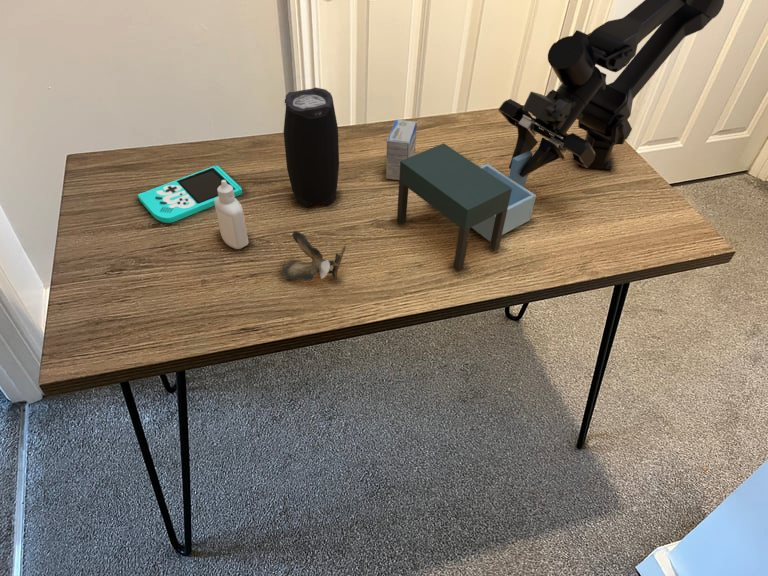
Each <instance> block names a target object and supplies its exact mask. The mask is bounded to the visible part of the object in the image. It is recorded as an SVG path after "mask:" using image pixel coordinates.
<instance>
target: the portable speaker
mask: <svg viewBox="0 0 768 576" xmlns="http://www.w3.org/2000/svg"><path fill="white" fill-rule="evenodd" d="M284 104H285V111H284V123H283V142H284V152H285V162H286V163H285V164H286V169H287V174H288V178H289V182H290V185H291V191H292V193H293V196H294V199H295V201H296V203H297V205H300V206H302V207H304V208H309V207H310V206H313V205H320V204H321V205H322V204H325V205H327V206H329V205H332V204H333V203H334V202H335V200H336V199H337V189H338V182H339V171H340V149H339V148H340V147H339V145H340V143H339V142H340V141H339V126H338V120H337V116H336V111H335V110H336V109H335V104H334V97H333V95H332V93H331V92H330V91H328V90H327V89H326V88H322V87H321V88H320V87H313V88H307V89H301V90H296V91H289V92H288V93H286V95H285V98H284Z"/></svg>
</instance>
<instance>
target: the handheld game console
mask: <svg viewBox="0 0 768 576" xmlns="http://www.w3.org/2000/svg"><path fill="white" fill-rule="evenodd" d="M222 180H226V182H227V184H229V185H231V186H232V187H233V190H234V196H235V198H236V197H239V196H241V195H243V194H244V193H243V188H242V187H241V186H240V185H239V184H238V183H237V182H236V181H235V180H234V179H233V178H232V177H231V176H230V175H229V174H228V173H226V172H225V170H223V169H222V168H221V167H220V166H219V165H213V166H211V167H208V168H205V169H203V170H199V171H197V172H194V173H191V174H189V175H186V176H184V177H181V178H178V179H176V180H173V181H170V182H168V183H165V184H162V185H159V186H157V187H154V188H151V189H149V190H146V191H143V192H141V193H138V194H137V197H138V200H139V202H140V203H141V204H142V205H143V206H144V207H145V209H146V210H147V211H148V213H150V215H151V216H152V217H153V218H154V219H155V220H157V221H159V222H161V223H163V224H172V223H175V222H177V221H179V220H182V219H184V218H187V217H191V216H193V215H194V214H197V213H200V212H202V211H205V210H207V209H210V208H212V207H215V203H214V201H215V199H216V198H217V197H219V196H218V191H217V189H218V187H219V186H220V185H221V181H222Z"/></svg>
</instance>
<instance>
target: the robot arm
mask: <svg viewBox="0 0 768 576" xmlns="http://www.w3.org/2000/svg"><path fill="white" fill-rule="evenodd" d="M724 4H725V0H643V1H642V2H641V3H640V4H638V5H637V6H636V7H634V9H632V10H631V11H630V12H629V13H628V14H626V15H625V16H623V17H621V18H618V19H612V20H608V21H606V22H604V23H603V24H601V25H599V26H597V27H596V28H595V29H593V30H592V31H591V32H589V33H588V34H587V33H585V32H583V31H580V30H578V29H577V30H575V32H574V33H573V34H572V35H567V36H564V37H562V38H560V39H558V40H557V41H555V42H553V43H552V45H551V46H550V48H549V50H548V53H547V61H548V63H549V65H550V67H551V69H552V70H553V72H554V74H555V75H556V77H557V79H558V80H559V82H560V83H561V84H560V85H559V86H558V88H557V89H556V90H555V89H551V90H550V91H549V92H548V93H547V95H544V94H541V93H538V92H535V91H530V92H529V94H528V96H527V98H526V101H525V103H524V105H523V104H521V103H518V102H517V101H515V100H514V99H512V98H509V99H506V100H505V101H503V102H502V104H501V105H500V106H499V108H498V109H497V110H498V111H499V113H500V114H501V116H503V117H504V119H505V120H506V121H507V122H508V123H509V124H510V125H512V126H514V127H515V128H516V129H517V139H516V144H515V148H514V151H513V154H512V158H511V160H510V163H509V166H508V169H509V170H510V169H511V164H512V160H513V158H514V157H516V156H519V155H521V154H523V153H525V152H527V151H530V152H532V150H533V149H535V147H536V146H537V144H538V143H539V145H538V147H537V149H536V150H535V151H534V153H533V155H532V157H531V158H530V159H529V161H528V162H527V163H526V165H525V166H524V167H523V169H522V170H521V172H520V174H519V175H520V176H521V177H524V176H526V175H527V174H528V175H529V174H531V173H532V172H534V171H536V170H538V169H540V168H542V167H544V166H545V165H547V164H550V163H552V162H554V161H556V160H558V159H559V160H562V161H564V160H565V158H566V157H565V155H566V154H567V152H570V153H571V154H572V158H573V161H574V162H575V163H577V166H578V167H579V168H586V169H594V170H595V169H596V170H603V171H604V170H605V171H611V170H612V169H613V165H612V160H611V156H612V152H613V149H614V146H615V145H624V144H625V141H626V140H627V139H628V138H629V136H630V135H631V132H632V130H633V128H632V126H631V123H630V121H629V118H630V117H631V115H632V108H633V102H634V99H635V98H636V97H637V95H638V94H639V93H640V91H642V89H643V88H644V87H645V86H646V84H647V83H648V82H649V81H650V80H651V78H652V77H653V76H654V75H655V73H656V72H657V71H658V70H659V69H660V68H661V66H662V65H663V64H664V63H665V61H666V60H667V59H668V58H669V56H670V55H671V54H673V52H674V51H675V49H676V48H677V47H678V46H679V44H680V43H681V42H682V41H683V40H684V39H685V38H686V37H688V36H691V35H693V34H696V33H698V32H700V31H702V30H703V29H704V28H705V27H706V26H707V25H708V24H709V23H710V22H711V21H712V20H713V19H715V18H716V17H717V16H718V15H719V14H720V13H721V11H722V9H723V7H724ZM653 31H654V33H652V32H653ZM651 33H652V34H651ZM649 34H651V36H650V37H649V38H648V40H647V41H646V42H645V43H644V45H642V46H641V48H640V49H639V50H638V51H637V49H638V45H639V44H640V43H641V42H642V41H644V39H645V38H646V37H648V36H649ZM596 65H597V66H599V67H601V68H603V69H605V70H607V71H609V72H612V73H618V72H620V71H621V70H622V69H623V70H622V71H621V72H620V73H619V75H617V77H616V78H615V80H614V81H613V82H611V83H608V84H607V81H606V80H607V74H606V73H604V72H602V71H601V70H600V68H599V67H597V66H596ZM576 121H577V123H578V124H577V127H578V129H581V130H583V131H585V132H586V135H585V138H582V137H581V136H579V135H577V134H575V133H574V132H572V133H569V134H568V133H567V132H568V131H569V130H570V128H571V127H572V125H574V123H575V122H576ZM537 134H538V135H540V136H542V137H541V140H540V142H539V141H538V140H537V139H536V138H535V137H536V136H537Z"/></svg>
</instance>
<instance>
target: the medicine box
mask: <svg viewBox="0 0 768 576" xmlns="http://www.w3.org/2000/svg"><path fill="white" fill-rule="evenodd" d="M393 122H394V123H393V125H392V127H391V130H390V133H389V135H388V138H387V139H386V153H385V154H386V155H385V157H386V159H385V160H386V161H385V179H386V180H393V181H399V176H400V161H402V160H404V159H407V158H409V157H411V156H414V155H416V147H417V146H416V144H417V130H418V122H417V121H411V120H405V119H395V120H394V121H393Z"/></svg>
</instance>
